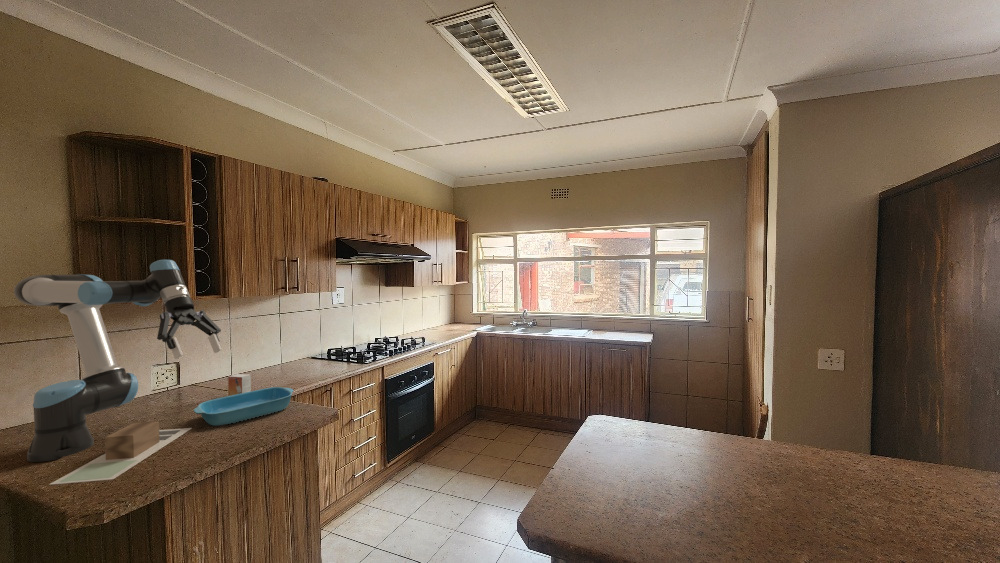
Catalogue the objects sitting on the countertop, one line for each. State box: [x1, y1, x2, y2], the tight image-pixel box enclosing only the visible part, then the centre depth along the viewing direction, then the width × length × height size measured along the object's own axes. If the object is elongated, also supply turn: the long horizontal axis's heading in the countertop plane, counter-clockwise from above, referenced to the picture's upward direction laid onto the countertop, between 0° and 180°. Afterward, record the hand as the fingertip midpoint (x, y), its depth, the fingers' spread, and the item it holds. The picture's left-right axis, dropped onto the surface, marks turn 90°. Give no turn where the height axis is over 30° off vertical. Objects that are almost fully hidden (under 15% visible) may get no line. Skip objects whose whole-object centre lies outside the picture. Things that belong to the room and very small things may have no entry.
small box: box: [227, 373, 252, 396], centre depth 191 cm, size 8×6×10 cm
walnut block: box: [104, 421, 160, 460], centre depth 131 cm, size 8×12×8 cm, turn 10°
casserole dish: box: [193, 386, 294, 427], centre depth 167 cm, size 37×22×7 cm, turn 139°
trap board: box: [48, 427, 193, 487], centre depth 130 cm, size 16×38×1 cm, turn 10°
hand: (199, 354), depth 131 cm, fingers open, 13 cm apart
